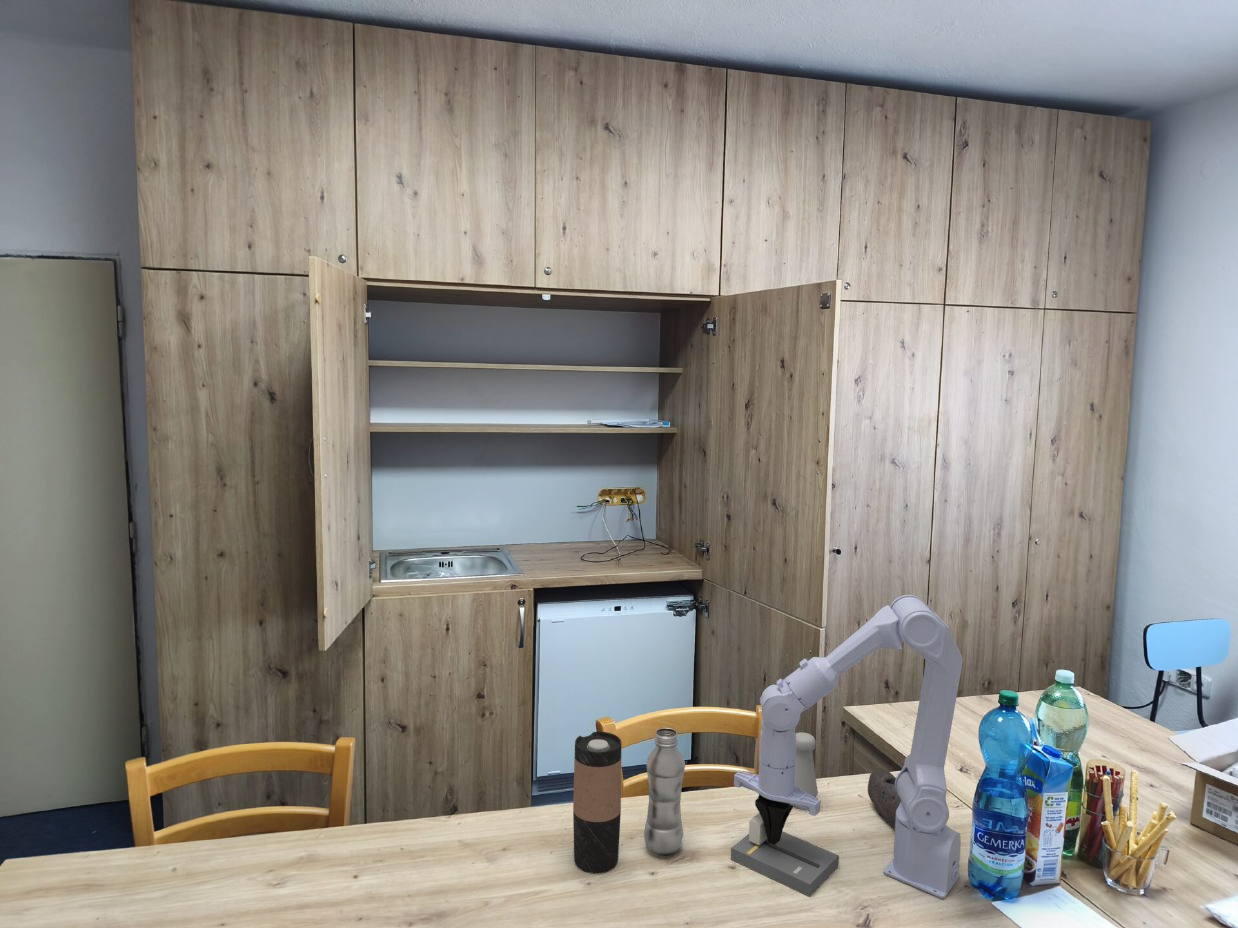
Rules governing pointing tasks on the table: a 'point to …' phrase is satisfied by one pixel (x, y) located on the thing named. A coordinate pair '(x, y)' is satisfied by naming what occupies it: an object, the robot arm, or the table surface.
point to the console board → (788, 861)
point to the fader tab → (757, 830)
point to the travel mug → (597, 801)
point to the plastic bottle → (664, 794)
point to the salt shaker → (805, 764)
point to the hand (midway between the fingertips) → (774, 840)
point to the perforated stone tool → (884, 794)
